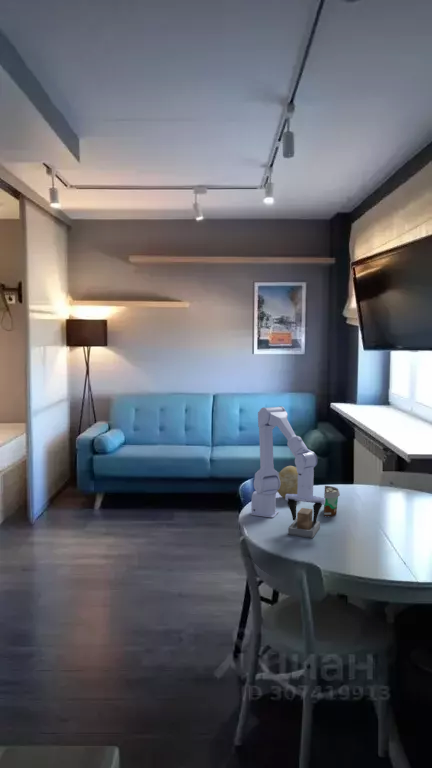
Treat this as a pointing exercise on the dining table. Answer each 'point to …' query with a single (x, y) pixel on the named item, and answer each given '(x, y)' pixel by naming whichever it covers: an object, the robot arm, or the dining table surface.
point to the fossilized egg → (288, 481)
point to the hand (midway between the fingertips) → (304, 521)
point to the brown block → (304, 519)
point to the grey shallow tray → (303, 530)
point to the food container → (330, 501)
